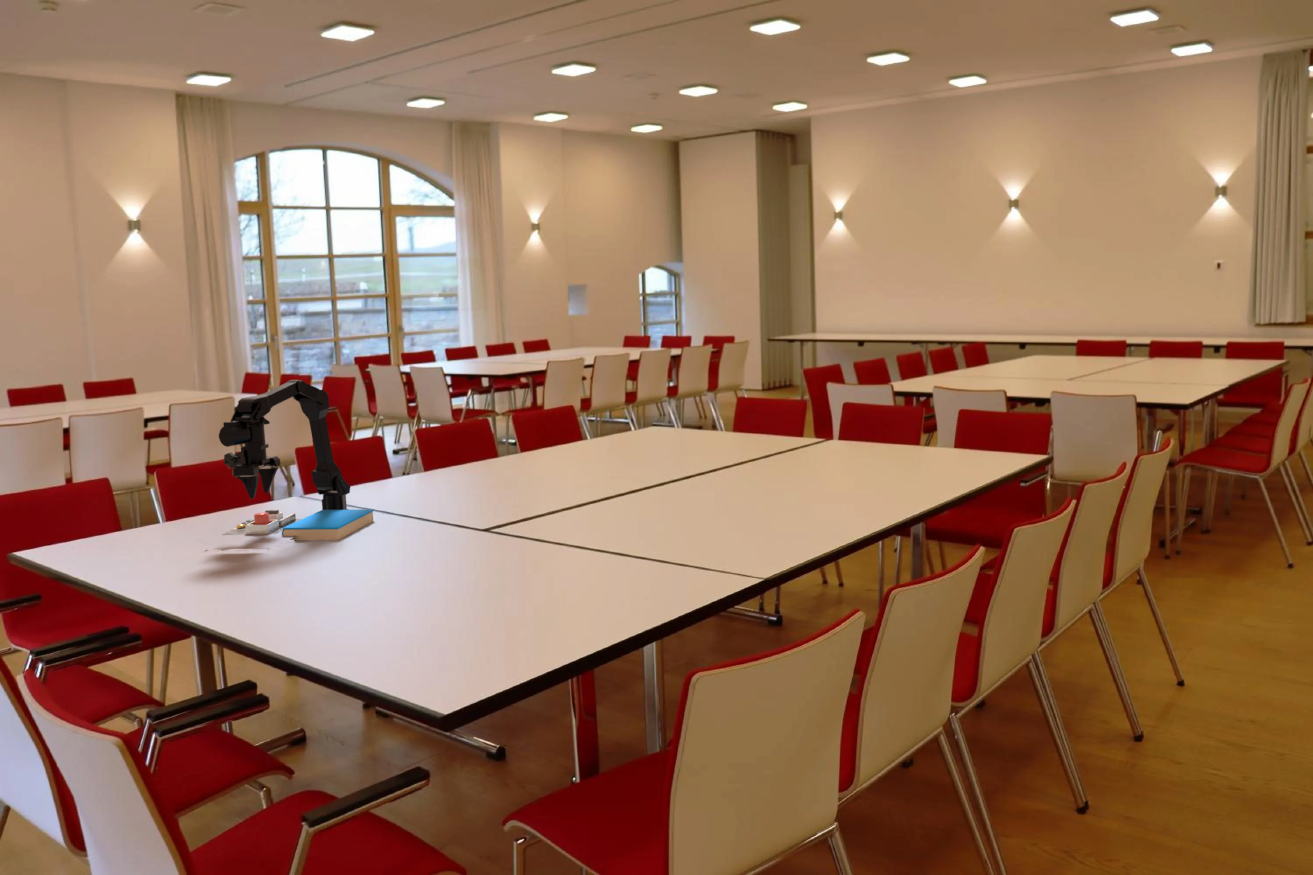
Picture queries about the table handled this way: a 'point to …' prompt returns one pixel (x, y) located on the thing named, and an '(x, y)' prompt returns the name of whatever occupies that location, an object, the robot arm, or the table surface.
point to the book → (328, 524)
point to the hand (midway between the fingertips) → (259, 495)
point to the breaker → (274, 514)
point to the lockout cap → (261, 518)
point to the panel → (263, 526)
